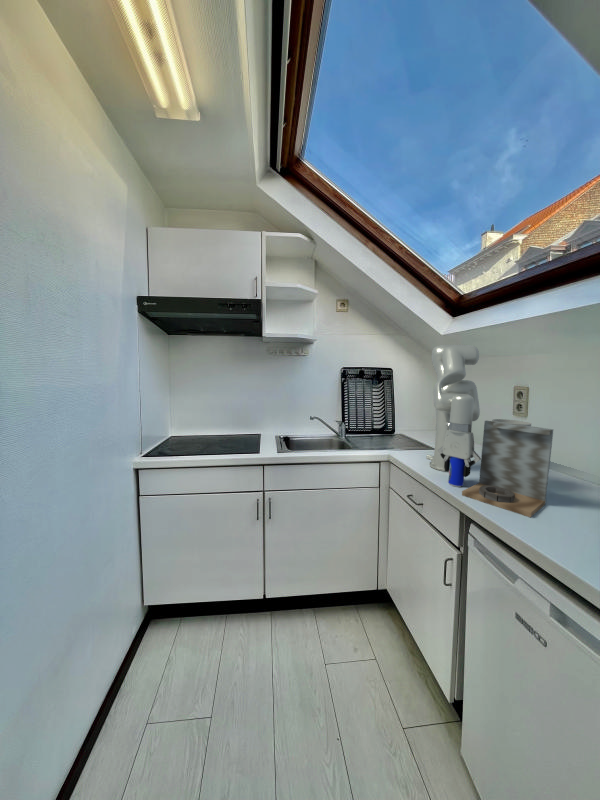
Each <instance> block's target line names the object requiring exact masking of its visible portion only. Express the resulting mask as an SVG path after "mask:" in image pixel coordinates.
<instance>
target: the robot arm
mask: <svg viewBox="0 0 600 800" xmlns="http://www.w3.org/2000/svg"><path fill="white" fill-rule="evenodd" d="M479 360H480V353H479V349H478V347H477V346H475V345H472V344H441V345H436V346H434V347H433V349H432V351H431V364H432V366H433V367H432V368H433V370H434V371H435V374H436V382H435V384H434V387H433V404H434V405H433V406H434V408H435V417H436V418H435V420H436V421H435V423H436V426H435V442H434V450H433V451H434V452H433V455H431V454H426V457H425V459H426V460H429V461H431V462H429V466H430V468H432V469H434V470H437V471H441V472H446V473H447V472H448V473H449V467H450V456H451V457H456V458H459V459H464V462H465V466H464V474H463V476H464V478H467V477H469V476H470V475H471V468H472V466H473V465H475V464H476V463H478V462H479V461H481V456H480V455H479V454H478V453H477V452H476V450H475V438H474V437H475V436H474V433H473V432H472V429H473V427H472V426H473V422H476V421H478V419H479V417H480V416H481V415H480V413H481V408H480V403H479V400H480V399H479V395H478V388H477V385H476V382H474V381H473V380H468V379H465V377H466V376H467V371H466V366H474V365H476V364H478V361H479ZM472 458H474V459H473V460H471V459H472Z"/></svg>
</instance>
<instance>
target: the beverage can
mask: <svg viewBox="0 0 600 800" xmlns="http://www.w3.org/2000/svg"><path fill="white" fill-rule="evenodd" d="M464 466H466V464H465V462H464V459H459V458H456V457H451V456H450V467H449V472H448V481H447V482H448V484H449V485H450V486H451V485H452V487H455V486H456V487H455V488H462V487H463V485H464V481H465V477H464V476H463V474H464ZM461 486H462V487H461Z"/></svg>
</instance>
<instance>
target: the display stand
mask: <svg viewBox="0 0 600 800" xmlns="http://www.w3.org/2000/svg"><path fill="white" fill-rule="evenodd" d="M482 436H483V437H482V447H481V448H482V449H481V456H480V458H481V460H480V471H479V481H478V482H477V483H476V484H474V485H472V486H470V487H467V488H466V489H464V490H462V491H461V495H462V496H464V497H466V498H470V499H473V500H476V501H479V502H482V503H486V504H488V505H491V506H494V507H497V508H500V509H503V510H507V511H510V512H513V513H516V514H519V515H521V516H525V517H528V518H532V517H533V516H534V515H535V514H536V513H537V512H538V511H540V509H542V508H543V507H544V506H545V505H546V500H547V491H548V482H549V473H550V463H551V457H552V456H551V455H552V445H553V437H554V429H552V428H546V427H537V426H532V425H531V426H524V425H516V424H509V423H501V422H494V421H492V420H484V425H483V435H482Z"/></svg>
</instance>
